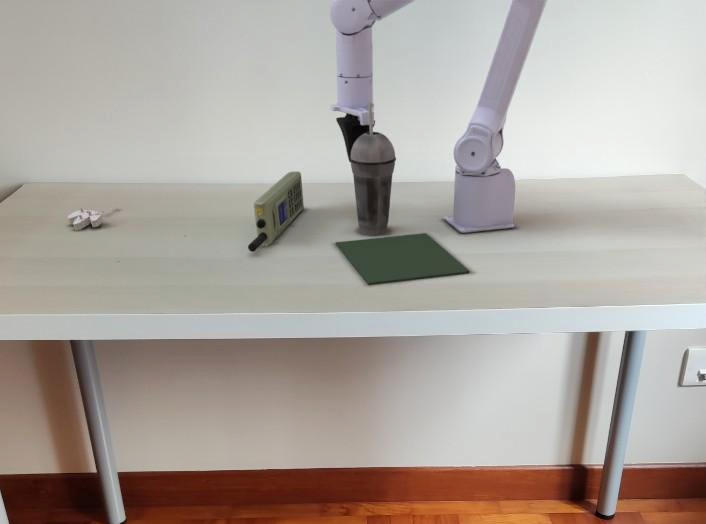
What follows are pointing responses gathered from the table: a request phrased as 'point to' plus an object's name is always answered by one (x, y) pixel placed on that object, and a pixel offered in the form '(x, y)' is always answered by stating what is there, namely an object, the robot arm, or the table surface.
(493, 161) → the robot arm
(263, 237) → the handheld radio
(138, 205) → the table surface
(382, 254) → the mat
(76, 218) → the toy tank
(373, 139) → the beverage cup
